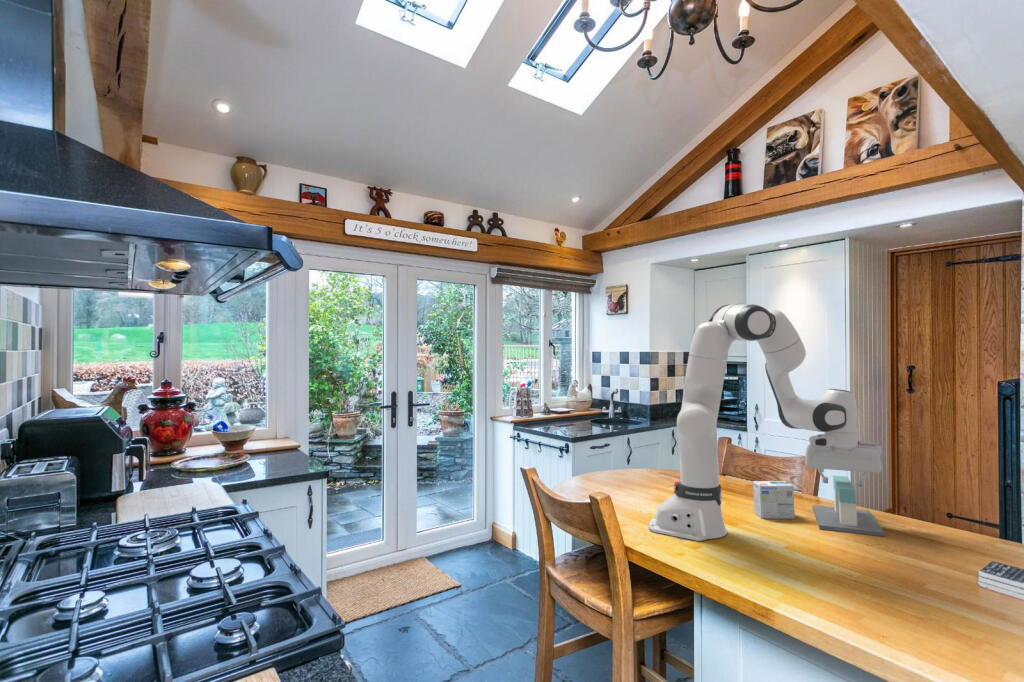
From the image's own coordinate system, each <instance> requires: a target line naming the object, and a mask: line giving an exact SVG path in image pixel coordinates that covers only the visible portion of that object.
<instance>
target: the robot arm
mask: <svg viewBox="0 0 1024 682" xmlns="http://www.w3.org/2000/svg"><path fill="white" fill-rule="evenodd" d="M735 341H748V342H751V341H752V342H754V341H756V342H757V343H758V344H759V347H760V349H761V351H762V353H763V355H764V358H765V361H766V362H765V367H764V368H765V374H766V377H767V380H768V382H769V385H770V387H771V391H772V392H773V396H774V398H775V400H776V401H775V402H776V405H777V412H778V416H779V420H780V421H781V423H782V424H783V425H784V426H785V427H787V428H789V429H795V430H805V431H813V432H820V434H816V435H811V436H809V438H808V442H809V444H808V445H807V447H806V450H805V456H804V462H805V466H806V467H807V468H808V469H817V471H818V473H819V475H820V476H821V481H822V483H823V484H829V477H828V476H825V475H824V474H823V473H825V472H824V471H825V470H833V471H845V472H847V471H848V472H859V473H861V475H862V476H861V477H860V479H856V481H857V486H858V487H865V481H866V479H867V478H868V477H869V473H874V474H875V473H876V474H880V473H881V472H882V471H883V464H882V459H881V456H882V453H883V448H882V446H881V445H880V444H879V443H876V442H875V441H861V440H859V431H858V427H857V421H858V406H857V401H856V396H855V395H854V393H853V392H852V391H849V390H845V389H838V388H828V389H826V390H825V392H824V394H823V395H821V396H820V397H818V398H816V399H806V398H805V399H803V398H801V396H798V395H797V394H796V392H795V389H794V387H793V384H792V381H791V379H790V376H789V375H790V374H789V373H791V372H793V371H795V370H796V369H797V368H799V367H800V366H801V365H802V364H803V363H804V360H805V358H806V355H807V353H806V347H805V345H804V343H803V341H802V339H801V337H800V335H799V333H798V332H797V330H796V328H795V327H794V325H793V324H792V322H791V321H790V319H789V318H788V317H787V316H786V314H785V313H783V312H782V311H781V310H777V309H771V310H770V309H769V310H768V309H766V308H765V307H764V306H760V305H758V304H745V303H732V304H725V305H722V306H720V307H718V308H717V309H716V310H715V311H714V312H713V313H712V315H711V317H710V319H709V320H708V321H706V322H702V323H700V324H699V325H698V326H697V327H696V329H695V332H694V333H693V338H692V340H691V343H690V348H689V353H688V357H687V358H688V359H687V364H686V370H685V375H684V385H683V393H682V394H683V395H682V401H681V407H680V411H679V412H678V413H677V418H676V431H677V433H676V434H677V444H678V453H679V469H680V470H679V472H680V475H679V477H680V480H679V479H676V480H675V482H674V483H673V484H674V485H673V493H674V494H672V495H671V496H670V497H668V498H666V499H665V500H664V501H662V502H661V503H660V504H659V506H658V508H657V510H656V514H655V517H653V518H651V519H650V520H649V523H648V529H649V531H651V532H652V533H657V534H661V535H667V536H672V537H677V538H682V539H687V540H693V541H697V542H702V541H705V540H711V539H719V538H722V537H725V536H726V535H727V533H728V532H727V527H726V525H725V522H724V518H723V512H722V511H723V510H722V502H723V501H722V496H723V495H722V488H721V484H720V475H719V474H720V471H719V470H720V468H719V454H718V453H719V451H718V433H717V431H718V430H717V423H718V418H719V413H720V405H721V401H722V393H723V387H724V381H725V378H726V377H725V376H726V371H727V370H726V369H727V364H728V358H729V357H728V356H729V349H730V347H731V346H732V343H733V342H735Z"/></svg>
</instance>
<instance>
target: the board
mask: <svg viewBox="0 0 1024 682" xmlns="http://www.w3.org/2000/svg"><path fill="white" fill-rule="evenodd" d="M833 500H834V501H833V503H834V504H833V505H834V506H826V505H824V506H823V505H812V510H813V513H814V517H815V520H816V522H817V526H818V528H819V530H824V531H832V532H840V533H849V534H850V533H851V534H858V535H860V534H861V535H868V536H876V537H877V536H878V537H885V532H884V530H883V528H882V527H881V525H880V524H879V522H878V521H877V519H876V517H874V515H873V513H872V512H871V511H870V510H867V509H859V508H858V509H857V503H856V504H854V503H844V502H840V501H839V499H838V497H837V494H836V492H835V490H834V489H833Z"/></svg>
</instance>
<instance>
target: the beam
mask: <svg viewBox="0 0 1024 682" xmlns="http://www.w3.org/2000/svg"><path fill="white" fill-rule="evenodd" d="M832 477H833V478H832V479H833V491H834V490H835V492H836V494H837V497H838V499H839V501H840V502H844V503H854V504H856V505H857V502H856V501H857V500H856V489H855V487H854V486H853V484H852V482H851V480H850V479H849V477H848V476H844V475H832Z"/></svg>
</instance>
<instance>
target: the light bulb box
mask: <svg viewBox="0 0 1024 682" xmlns="http://www.w3.org/2000/svg"><path fill="white" fill-rule="evenodd" d="M752 486H753V489H752V490H753V507H754V513H755V515H757V516H758V517H759V518H760V519H775V520H776V519H783V520H784V519H786V520H787V519H788V520H790V519H793V520H794V519H795V517H796V516H795V512H796V511H795V495H794V485H793V484H791V483H789V482H787V481H785V480H776V481H775V480H764V481H763V480H753V481H752Z"/></svg>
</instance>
